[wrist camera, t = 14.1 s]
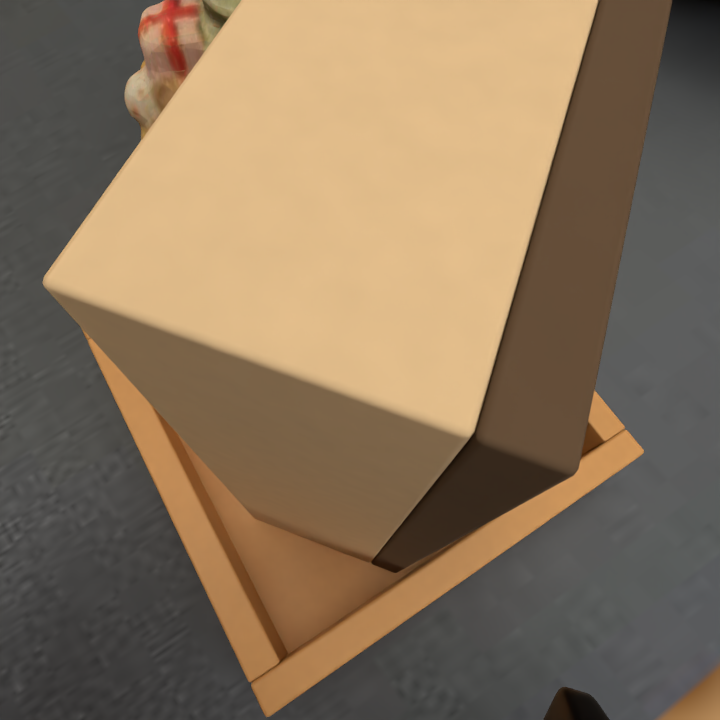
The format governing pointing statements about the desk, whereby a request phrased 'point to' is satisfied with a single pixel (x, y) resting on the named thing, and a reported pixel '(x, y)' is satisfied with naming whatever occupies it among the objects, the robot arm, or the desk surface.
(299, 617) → the mount frame
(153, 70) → the ornament
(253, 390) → the back pad
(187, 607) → the desk surface
